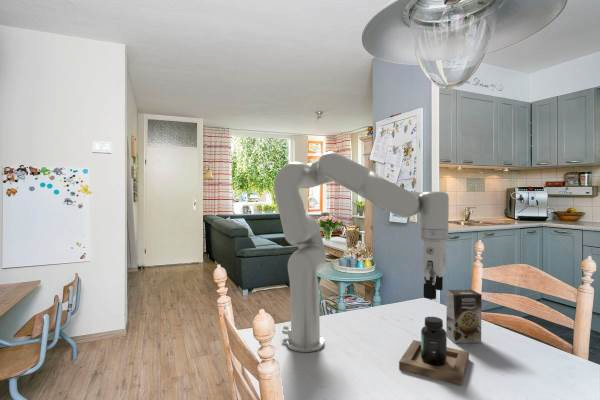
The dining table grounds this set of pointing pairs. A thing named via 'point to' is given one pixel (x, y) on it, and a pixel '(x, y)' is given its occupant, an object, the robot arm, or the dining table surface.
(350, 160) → the robot arm
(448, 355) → the wooden tray
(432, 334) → the supplement bottle
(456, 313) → the coffee box
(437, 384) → the dining table surface
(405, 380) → the dining table surface
